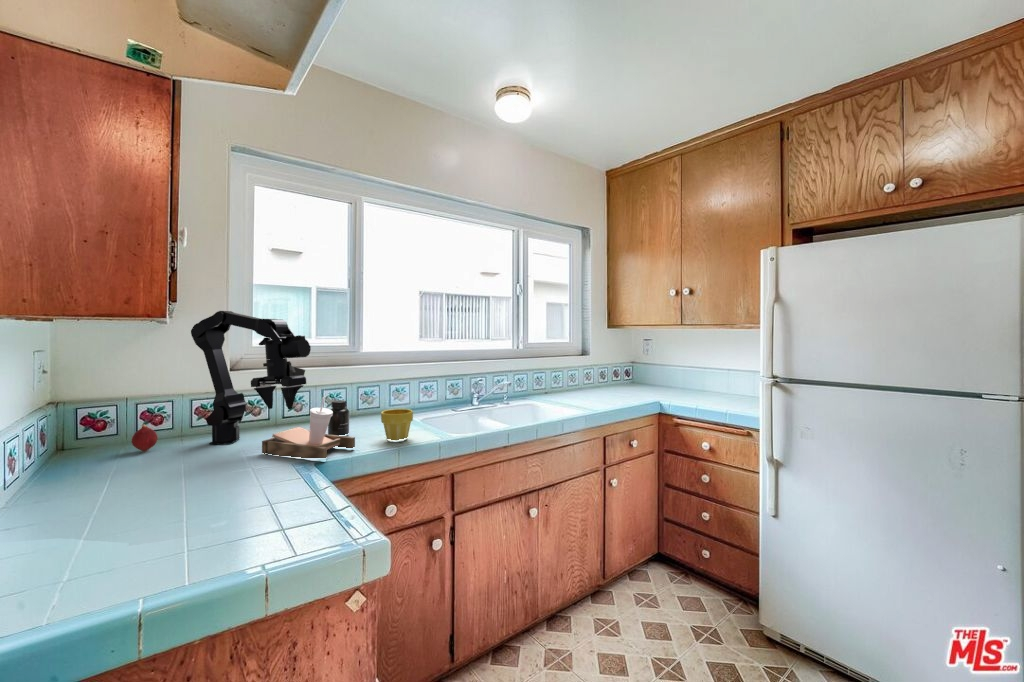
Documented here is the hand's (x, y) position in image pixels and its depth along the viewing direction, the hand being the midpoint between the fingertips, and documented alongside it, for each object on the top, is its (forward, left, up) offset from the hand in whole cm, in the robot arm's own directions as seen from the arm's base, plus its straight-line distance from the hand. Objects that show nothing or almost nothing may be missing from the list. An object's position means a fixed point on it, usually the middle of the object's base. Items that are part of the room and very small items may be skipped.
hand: (280, 408), depth 133 cm
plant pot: (+35, +3, -12) cm, 37 cm away
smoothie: (+12, -9, -9) cm, 18 cm away
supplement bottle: (+15, +12, -12) cm, 23 cm away
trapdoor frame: (+10, -8, -12) cm, 18 cm away
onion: (-37, +1, -12) cm, 39 cm away
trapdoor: (+9, -7, -12) cm, 16 cm away
